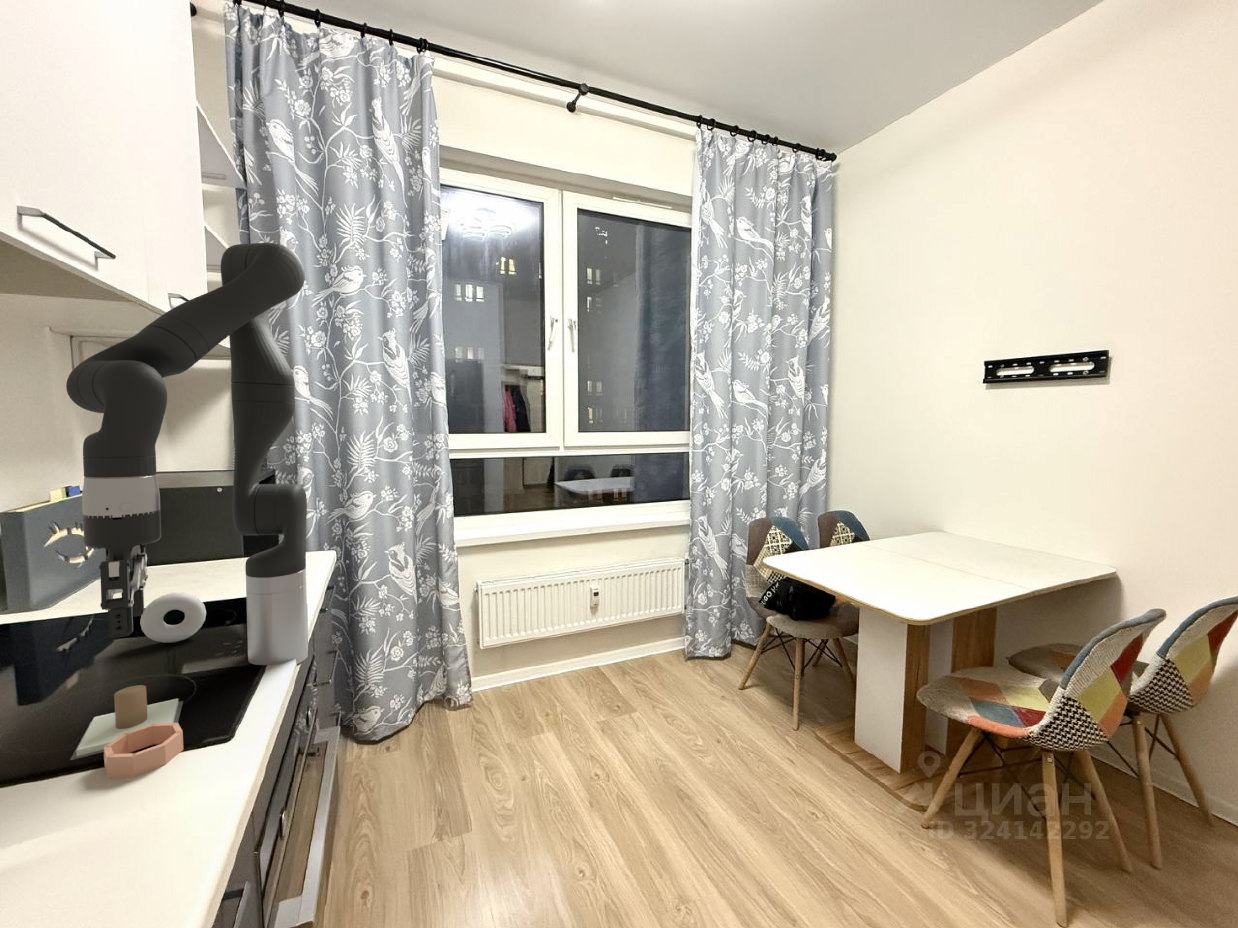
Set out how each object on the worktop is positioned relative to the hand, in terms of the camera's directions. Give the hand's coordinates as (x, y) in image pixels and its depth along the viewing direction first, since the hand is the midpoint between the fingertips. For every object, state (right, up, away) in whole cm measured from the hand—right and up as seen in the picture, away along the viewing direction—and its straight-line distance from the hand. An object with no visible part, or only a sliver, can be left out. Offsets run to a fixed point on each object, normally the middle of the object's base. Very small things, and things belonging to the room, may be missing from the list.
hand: (127, 625), depth 69 cm
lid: (0, -15, +1) cm, 15 cm away
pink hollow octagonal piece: (+7, -17, -5) cm, 19 cm away
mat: (0, -16, +1) cm, 16 cm away
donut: (-22, -14, +32) cm, 41 cm away
